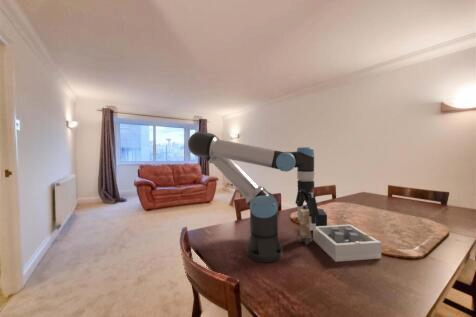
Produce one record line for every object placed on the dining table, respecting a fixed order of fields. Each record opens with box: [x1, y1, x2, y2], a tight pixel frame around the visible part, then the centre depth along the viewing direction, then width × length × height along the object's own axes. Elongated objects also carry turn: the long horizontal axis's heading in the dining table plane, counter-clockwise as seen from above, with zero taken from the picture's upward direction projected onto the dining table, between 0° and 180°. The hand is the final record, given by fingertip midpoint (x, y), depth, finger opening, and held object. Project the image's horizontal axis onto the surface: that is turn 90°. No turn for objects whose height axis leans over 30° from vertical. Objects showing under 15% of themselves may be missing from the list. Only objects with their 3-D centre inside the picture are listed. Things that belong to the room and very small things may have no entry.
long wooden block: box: [298, 209, 313, 245], centre depth 96 cm, size 6×6×15 cm
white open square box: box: [312, 224, 382, 263], centre depth 88 cm, size 19×19×7 cm
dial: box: [328, 227, 364, 243], centre depth 88 cm, size 13×14×6 cm
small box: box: [316, 208, 328, 226], centre depth 108 cm, size 11×6×10 cm, turn 168°
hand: (306, 224), depth 95 cm, fingers open, 13 cm apart
